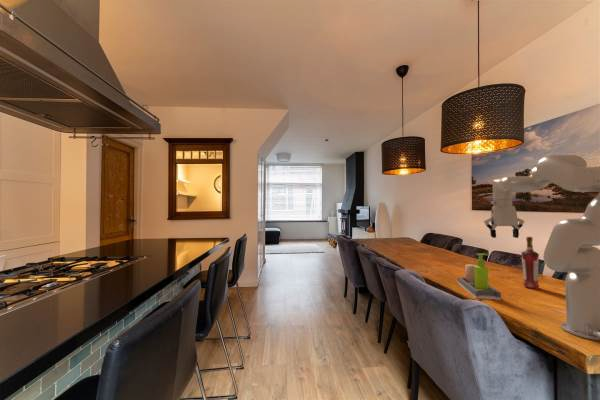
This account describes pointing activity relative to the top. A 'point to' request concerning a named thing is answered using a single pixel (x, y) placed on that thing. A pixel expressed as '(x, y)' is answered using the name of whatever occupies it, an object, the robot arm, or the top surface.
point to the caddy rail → (469, 285)
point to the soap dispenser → (481, 273)
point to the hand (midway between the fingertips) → (504, 237)
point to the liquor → (530, 265)
